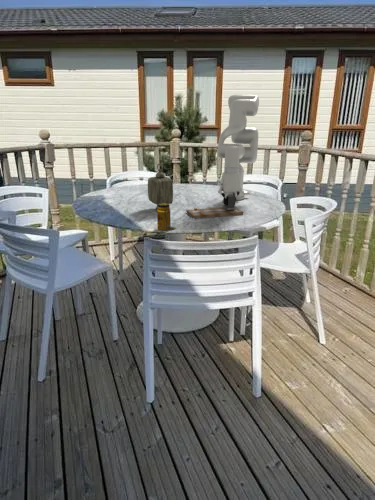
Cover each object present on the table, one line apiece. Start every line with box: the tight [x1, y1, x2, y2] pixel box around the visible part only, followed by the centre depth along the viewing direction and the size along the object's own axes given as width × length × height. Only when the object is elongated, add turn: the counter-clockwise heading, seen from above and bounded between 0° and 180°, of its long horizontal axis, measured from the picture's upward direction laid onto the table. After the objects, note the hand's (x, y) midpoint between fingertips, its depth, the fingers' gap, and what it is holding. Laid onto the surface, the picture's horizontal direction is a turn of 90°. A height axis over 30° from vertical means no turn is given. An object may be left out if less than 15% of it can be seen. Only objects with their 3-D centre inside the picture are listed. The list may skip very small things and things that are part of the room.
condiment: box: [154, 203, 177, 233], centre depth 164 cm, size 7×8×12 cm
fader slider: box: [222, 194, 237, 210], centre depth 192 cm, size 5×6×7 cm
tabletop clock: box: [147, 163, 174, 211], centre depth 193 cm, size 14×9×25 cm, turn 28°
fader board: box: [185, 206, 244, 219], centre depth 191 cm, size 28×12×2 cm, turn 108°
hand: (229, 204), depth 192 cm, fingers closed on fader slider, 4 cm apart
